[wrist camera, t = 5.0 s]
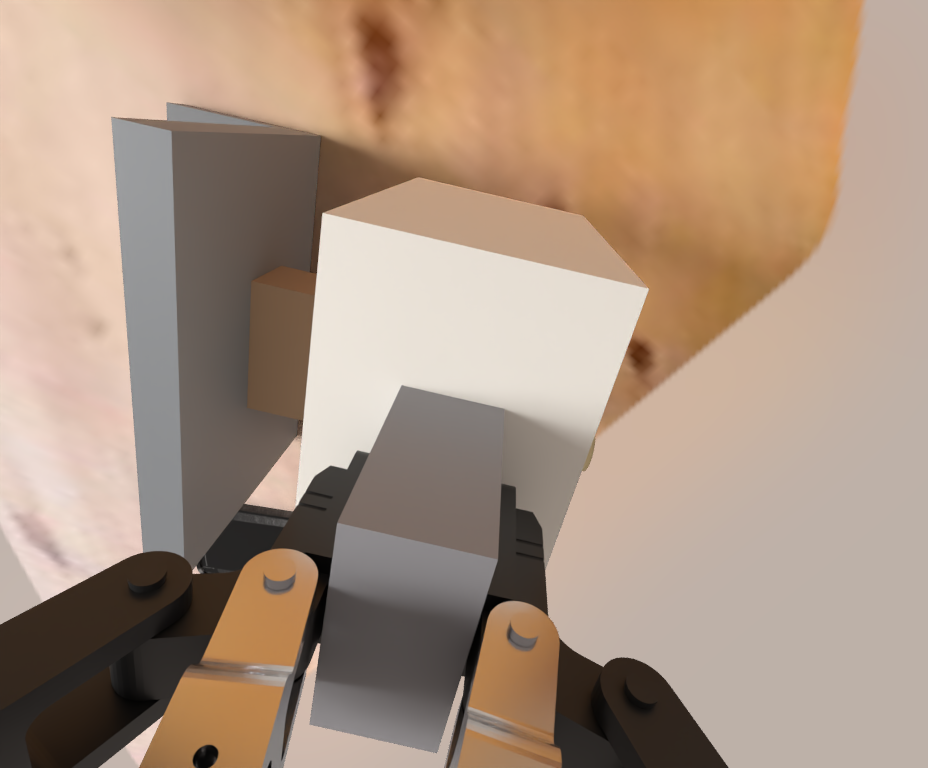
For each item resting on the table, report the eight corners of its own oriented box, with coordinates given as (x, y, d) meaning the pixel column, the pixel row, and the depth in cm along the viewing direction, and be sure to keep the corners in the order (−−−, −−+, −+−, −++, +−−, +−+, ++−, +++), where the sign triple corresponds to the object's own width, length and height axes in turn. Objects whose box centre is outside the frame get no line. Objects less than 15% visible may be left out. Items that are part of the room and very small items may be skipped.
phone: (187, 502, 41) (378, 532, 40) (195, 493, 42) (381, 522, 41) (198, 578, 44) (374, 607, 44) (205, 568, 45) (377, 596, 45)
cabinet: (378, 424, 27) (195, 799, 12) (418, 177, 22) (189, 263, 7) (531, 459, 27) (551, 879, 12) (606, 221, 22) (818, 408, 7)
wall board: (189, 410, 38) (24, 542, 26) (182, 104, 30) (-68, 76, 17) (357, 449, 38) (275, 601, 26) (399, 153, 30) (306, 161, 17)
